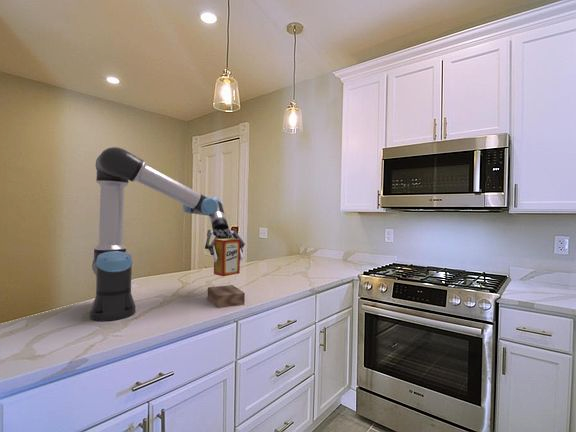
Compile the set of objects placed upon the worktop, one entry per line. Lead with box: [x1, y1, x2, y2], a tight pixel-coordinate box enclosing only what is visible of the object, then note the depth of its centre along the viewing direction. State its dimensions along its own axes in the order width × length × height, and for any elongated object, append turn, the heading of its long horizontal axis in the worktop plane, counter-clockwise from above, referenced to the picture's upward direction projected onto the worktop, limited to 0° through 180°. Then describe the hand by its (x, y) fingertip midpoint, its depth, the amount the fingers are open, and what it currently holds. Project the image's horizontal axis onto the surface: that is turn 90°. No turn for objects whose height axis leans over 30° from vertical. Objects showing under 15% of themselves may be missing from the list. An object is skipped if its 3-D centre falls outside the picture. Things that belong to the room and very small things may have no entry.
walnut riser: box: [206, 284, 246, 309], centre depth 137 cm, size 12×16×5 cm
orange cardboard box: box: [213, 237, 241, 277], centre depth 137 cm, size 10×6×16 cm
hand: (229, 259), depth 135 cm, fingers closed on orange cardboard box, 11 cm apart
